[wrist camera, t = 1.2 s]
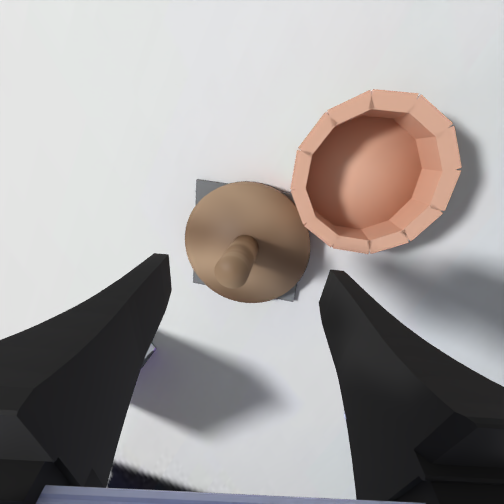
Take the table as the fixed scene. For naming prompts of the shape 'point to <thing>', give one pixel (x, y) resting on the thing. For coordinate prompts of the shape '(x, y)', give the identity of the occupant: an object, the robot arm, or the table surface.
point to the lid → (247, 242)
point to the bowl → (375, 171)
